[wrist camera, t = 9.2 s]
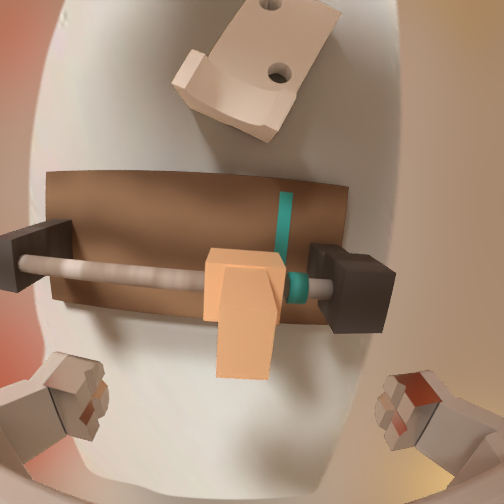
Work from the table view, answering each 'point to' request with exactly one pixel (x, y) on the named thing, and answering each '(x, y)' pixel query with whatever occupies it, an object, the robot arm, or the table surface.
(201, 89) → the bracket
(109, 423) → the table surface
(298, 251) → the linear slide rail
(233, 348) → the orange l-shaped block
